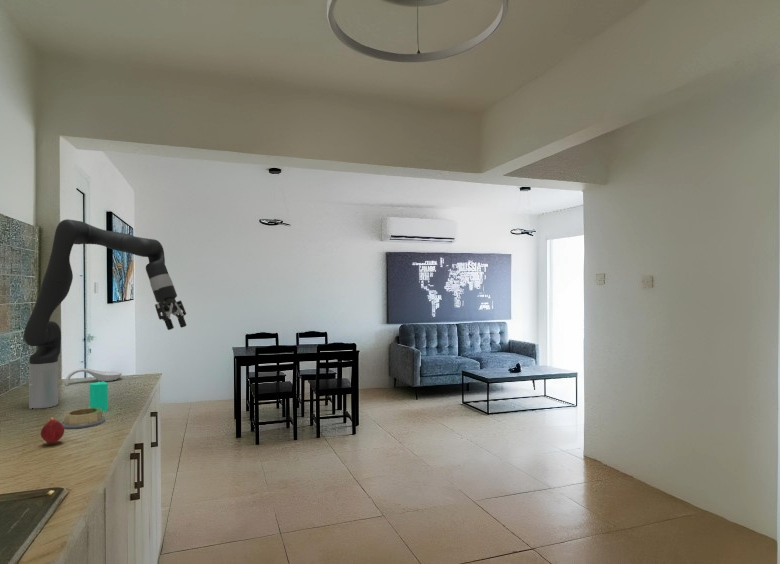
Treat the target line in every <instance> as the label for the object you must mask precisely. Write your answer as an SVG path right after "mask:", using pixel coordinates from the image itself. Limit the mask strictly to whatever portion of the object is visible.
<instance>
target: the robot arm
mask: <svg viewBox="0 0 780 564" xmlns="http://www.w3.org/2000/svg"><path fill="white" fill-rule="evenodd" d="M74 245H98V246H101V247H102V246H103V247H106V248H107V249H111V250H113V251H117V252H122V253H126V254H127V253H129V254H131V255H135V256H138V257H141V258H142V257H143V258H147V259H148V264H146V265H145V272H146V274H147V277H148V280H149V283H150V287H151V290H152V293H153V296H154V300H155V302H156V303H155V304H154V307H155V310H156V313H157V316H158V319H159V321H160V320H161V321H164V323H165V326H166V329H167V330H168V331H169V330H170V331H171V330H173V329H175V327H174V324H173V321H172V319H171V315H173V316H175V317H176V318H177V320H178V324H179V327H180V328H181V329H182V328H185V327H187V323H186V320H185V316H186V315H187V312H186V309H185V307H184V304H183V301H182V300H178V301H177V300H176V298H177V297H178V294H177V291H176V288H175V285H174V283H173V281H172V278H171V276H170V274H169V271H168V269H167V266H166V261H165V260H166V258H165V251H164V247H163V245H162V243H161V242H160V241H159V240H157V239H155V238H145V237H139V236H135V235H132V234H127V233H124V232H119V231H113V230H112V231H111V230H106V229H102V228H99V227H97V226H94V225H91V224H89V223H87V222H84V221H81V220H75V219H69V218H68V219H63V220H61V221H59V223H58V224H57V226H56V228H55V232H54V238H53V242H52V247H51V248H52V249H51V253H50V256H49V260H48V264H47V267H46V270H45V273H44V277H43V278H42V279H43V280H42V282H41V286H40V289H39V292H38V296H37V299H36V301H35V305H34V306H33V309H32V312H31V314H30V317H29V319H28V320H27V323H26V326H25V328H24V330H23V339H24V343H26V345H28V346H30V347H38V349H37V350H36V351H35V352H34V353H33V354H31V355H30V356H29V358H28V361H29V363H28V364H29V365H28V366H29V370H28V371H29V379H28V380H29V383H28V409H30V410H32V408H33V409H47V408H51V407H55V406H57V405H58V404H59V355H60V353H61V347H62V346H61V343H62V332H61V327H60V325H59V324H58V323H57V322H55V321H51V320H50V319H51V316H52V315H53V313H54V312H55V310H56V309H57V308H58V307H59V306H60V304H62V302H63V301H64V300H65V299H66V297H67V296H68V294H69V292H70V289H71V286H72V283H73V280H74V277H73V276H74V275H73V274H74V273H73V270H72V266H71V262H70V258H71V252H72V249H73V246H74Z"/></svg>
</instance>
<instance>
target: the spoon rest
mask: <svg viewBox="0 0 780 564" xmlns="http://www.w3.org/2000/svg"><path fill="white" fill-rule="evenodd" d="M82 372H85V373H86V374H89V375H91V376H92V377H93V378H95V379H96V380H97V381H98V379H99V382H100V381H109V382H113V380H114V381H116V380H117V379H119V378H120V377H121V376H122V374H123V372H119V371H106V370H103V371H102V370H95V369H91V368H78V369H75V370H72V371H71V372H70V373H68V374H67V376H66V378H65V386H69V384H70V380H71V377H72V376H74V375H75V374H77V373H82Z"/></svg>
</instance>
